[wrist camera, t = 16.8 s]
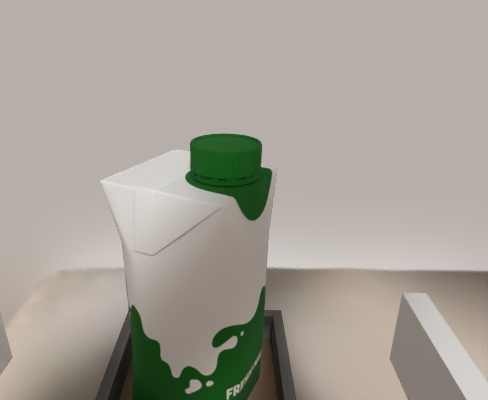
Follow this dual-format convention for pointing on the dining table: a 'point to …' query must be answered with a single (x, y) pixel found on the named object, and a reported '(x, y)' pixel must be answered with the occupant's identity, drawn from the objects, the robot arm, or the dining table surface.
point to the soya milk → (196, 266)
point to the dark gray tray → (264, 392)
